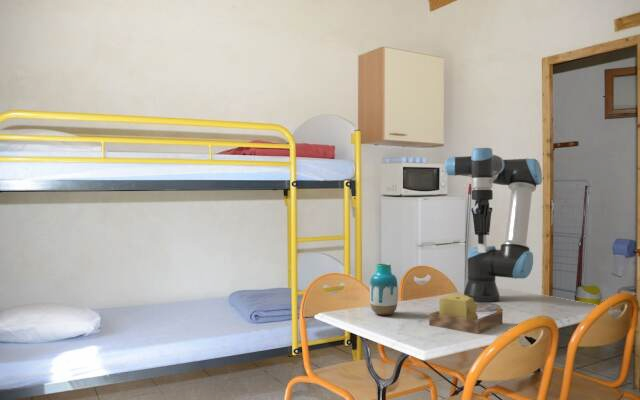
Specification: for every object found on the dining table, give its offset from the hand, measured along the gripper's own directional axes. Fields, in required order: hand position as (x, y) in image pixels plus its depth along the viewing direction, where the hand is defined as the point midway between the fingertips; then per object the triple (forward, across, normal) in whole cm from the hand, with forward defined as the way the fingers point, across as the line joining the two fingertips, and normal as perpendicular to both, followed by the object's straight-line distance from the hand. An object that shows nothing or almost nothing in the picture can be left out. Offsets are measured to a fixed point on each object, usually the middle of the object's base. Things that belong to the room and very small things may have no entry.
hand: (482, 252), depth 199 cm
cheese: (+24, -17, +1) cm, 30 cm away
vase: (+24, -21, +30) cm, 44 cm away
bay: (+24, -14, -1) cm, 28 cm away
